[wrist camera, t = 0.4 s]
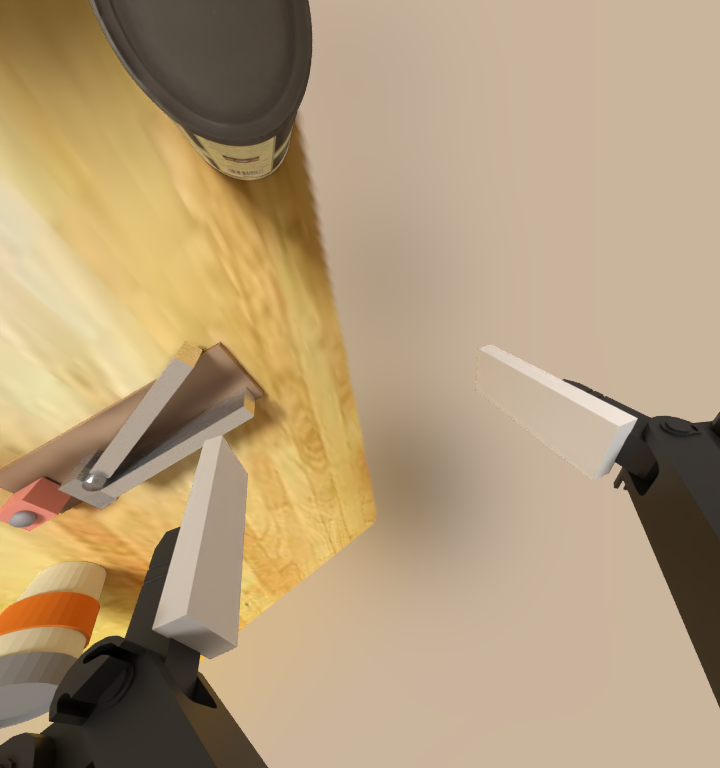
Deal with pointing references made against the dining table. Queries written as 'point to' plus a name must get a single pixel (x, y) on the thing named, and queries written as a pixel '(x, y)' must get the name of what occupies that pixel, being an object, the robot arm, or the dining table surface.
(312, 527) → the dining table surface
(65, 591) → the reusable coffee cup
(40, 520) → the tab
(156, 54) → the coffee can
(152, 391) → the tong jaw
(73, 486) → the grey long bar
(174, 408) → the board
